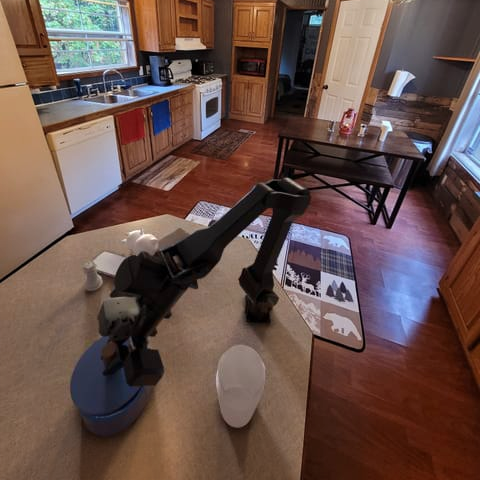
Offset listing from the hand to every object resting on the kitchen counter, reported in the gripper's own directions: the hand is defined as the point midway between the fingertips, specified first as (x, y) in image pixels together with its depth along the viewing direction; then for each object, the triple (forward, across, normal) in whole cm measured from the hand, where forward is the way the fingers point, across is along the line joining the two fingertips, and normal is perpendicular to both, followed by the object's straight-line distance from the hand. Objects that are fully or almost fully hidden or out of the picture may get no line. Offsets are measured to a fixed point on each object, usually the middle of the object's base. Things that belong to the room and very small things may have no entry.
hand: (103, 366), depth 46 cm
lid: (0, 0, +2) cm, 2 cm away
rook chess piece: (+8, -30, +7) cm, 32 cm away
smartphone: (+3, -35, +12) cm, 37 cm away
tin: (+6, 0, +8) cm, 10 cm away
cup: (-7, +14, +22) cm, 27 cm away
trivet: (-11, -32, +25) cm, 42 cm away
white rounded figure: (-4, -42, +13) cm, 44 cm away
